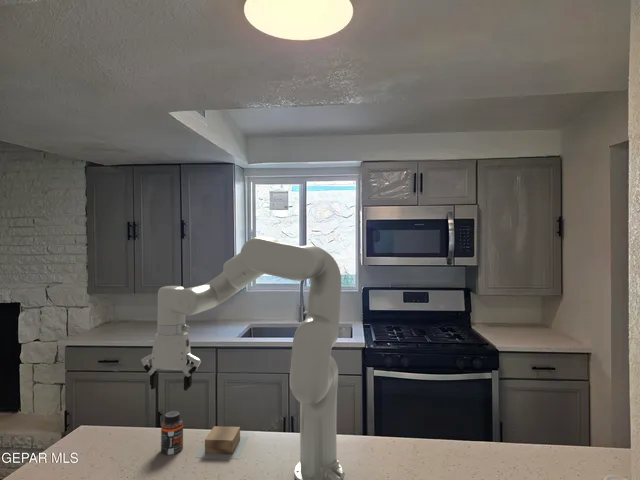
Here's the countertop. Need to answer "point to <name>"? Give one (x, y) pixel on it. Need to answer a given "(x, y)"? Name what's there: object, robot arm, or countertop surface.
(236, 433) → the walnut block
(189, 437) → the countertop surface
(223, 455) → the base plate
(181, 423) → the supplement bottle
